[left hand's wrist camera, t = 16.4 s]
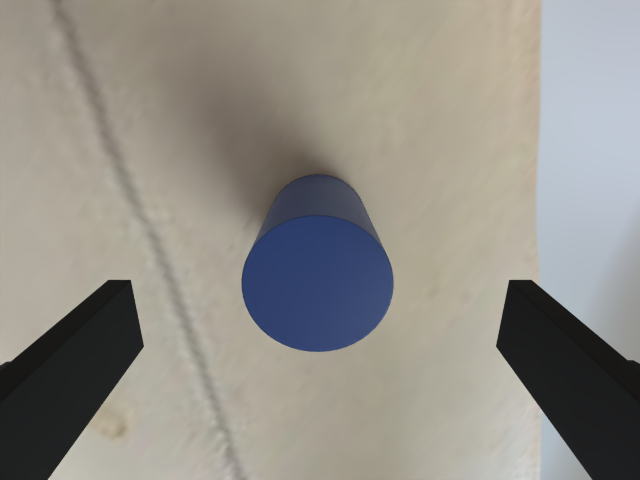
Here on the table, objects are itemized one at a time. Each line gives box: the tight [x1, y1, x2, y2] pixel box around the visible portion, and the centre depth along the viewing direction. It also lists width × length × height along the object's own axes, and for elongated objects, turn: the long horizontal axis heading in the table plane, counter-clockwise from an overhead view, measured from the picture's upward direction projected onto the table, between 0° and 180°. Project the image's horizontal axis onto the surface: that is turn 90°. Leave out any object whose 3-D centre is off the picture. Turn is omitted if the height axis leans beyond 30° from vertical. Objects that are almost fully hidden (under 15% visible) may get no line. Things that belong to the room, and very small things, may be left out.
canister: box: [242, 175, 393, 352], centre depth 20 cm, size 6×6×9 cm
